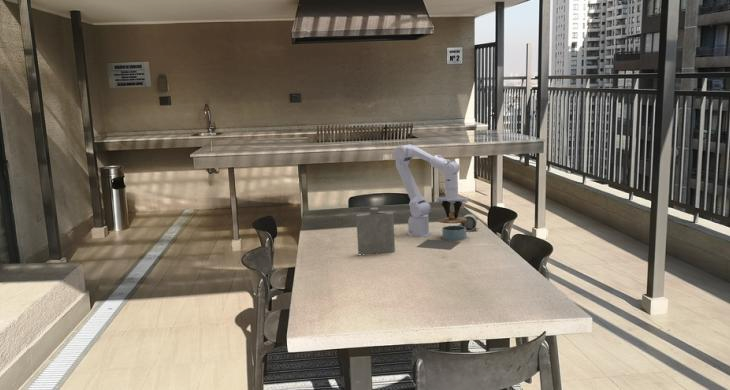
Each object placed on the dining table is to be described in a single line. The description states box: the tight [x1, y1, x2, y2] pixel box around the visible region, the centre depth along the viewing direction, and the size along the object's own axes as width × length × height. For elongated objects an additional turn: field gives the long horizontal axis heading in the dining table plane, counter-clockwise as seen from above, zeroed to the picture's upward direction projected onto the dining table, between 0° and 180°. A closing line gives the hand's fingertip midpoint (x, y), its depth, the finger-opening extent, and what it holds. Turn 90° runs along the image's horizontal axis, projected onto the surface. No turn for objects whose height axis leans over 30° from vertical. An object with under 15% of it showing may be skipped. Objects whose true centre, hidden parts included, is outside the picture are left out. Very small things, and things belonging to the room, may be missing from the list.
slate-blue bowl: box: [441, 224, 467, 241], centre depth 279 cm, size 11×11×4 cm
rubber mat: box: [416, 238, 461, 251], centre depth 267 cm, size 16×14×1 cm
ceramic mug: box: [456, 214, 478, 232], centre depth 293 cm, size 11×8×8 cm
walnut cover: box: [437, 211, 467, 224], centre depth 276 cm, size 13×13×4 cm
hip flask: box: [355, 207, 396, 256], centre depth 258 cm, size 16×4×20 cm, turn 94°
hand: (452, 217), depth 276 cm, fingers closed on walnut cover, 3 cm apart
